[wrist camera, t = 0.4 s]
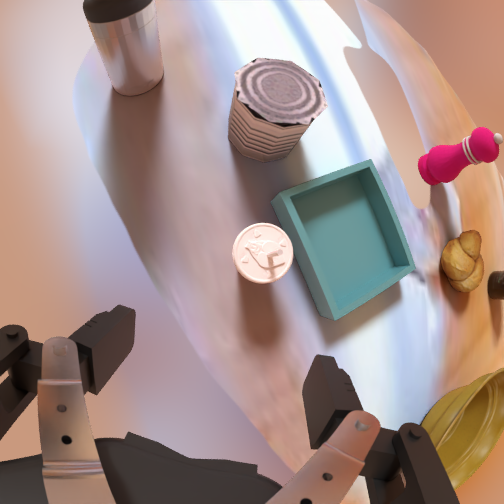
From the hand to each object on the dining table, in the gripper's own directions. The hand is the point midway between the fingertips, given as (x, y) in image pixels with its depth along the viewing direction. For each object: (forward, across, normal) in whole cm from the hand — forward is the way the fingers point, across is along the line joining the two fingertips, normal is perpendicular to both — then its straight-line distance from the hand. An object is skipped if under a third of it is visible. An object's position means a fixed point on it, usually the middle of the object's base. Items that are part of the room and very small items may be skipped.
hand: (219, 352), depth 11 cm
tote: (+31, -13, -3) cm, 34 cm away
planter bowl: (+26, -51, +29) cm, 64 cm away
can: (+33, +2, -16) cm, 37 cm away
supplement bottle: (+38, -60, -2) cm, 71 cm away
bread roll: (+35, -41, -3) cm, 54 cm away
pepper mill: (+40, -31, -20) cm, 54 cm away
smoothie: (+27, 0, +2) cm, 27 cm away
